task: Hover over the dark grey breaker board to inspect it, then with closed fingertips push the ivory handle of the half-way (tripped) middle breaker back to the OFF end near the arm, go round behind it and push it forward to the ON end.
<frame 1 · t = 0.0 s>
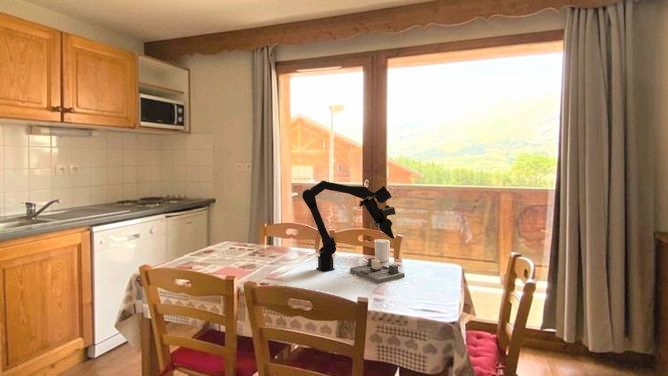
hand: (391, 236, 190), 15 cm above the table, tool tilted 35°, fingers open, 9 cm apart
tripped breaker: (375, 265, 180), point 4 cm above the table, slide at 4.0 cm
white cup: (382, 260, 206), on the table
breaker panel: (376, 274, 180), on the table
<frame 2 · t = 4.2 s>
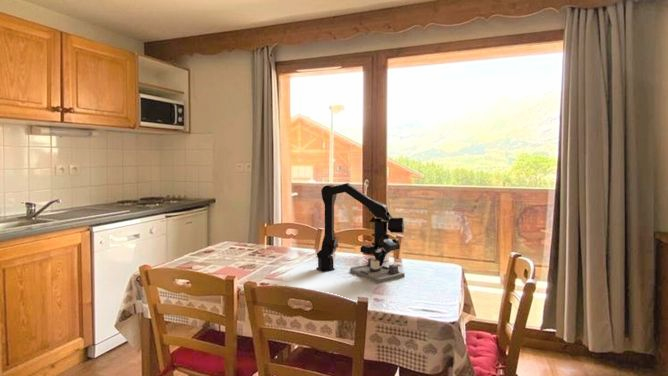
hand: (380, 266, 181), 3 cm above the table, tool pointing down, fingers closed
tripped breaker: (375, 265, 180), point 4 cm above the table, slide at 3.5 cm, touching gripper
everything else where it was.
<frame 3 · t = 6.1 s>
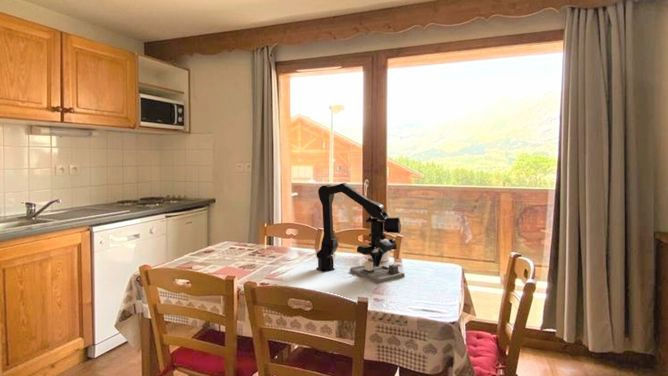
hand: (377, 266, 180), 4 cm above the table, tool pointing down, fingers closed
tripped breaker: (368, 266, 178), point 4 cm above the table, slide at 0.0 cm
everything else where it was.
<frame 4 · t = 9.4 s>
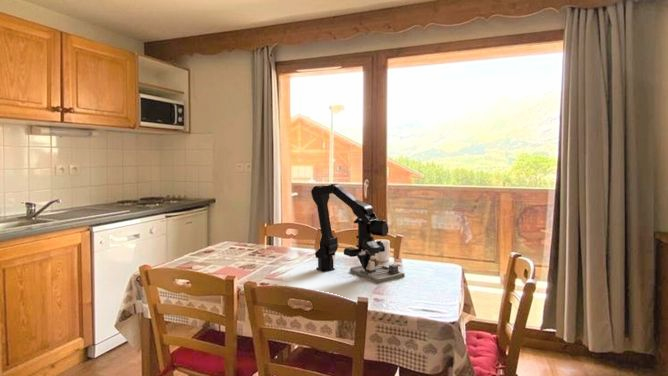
hand: (364, 269, 176), 4 cm above the table, tool pointing down, fingers closed
tripped breaker: (370, 266, 178), point 4 cm above the table, slide at 0.8 cm, touching gripper
everything else where it was.
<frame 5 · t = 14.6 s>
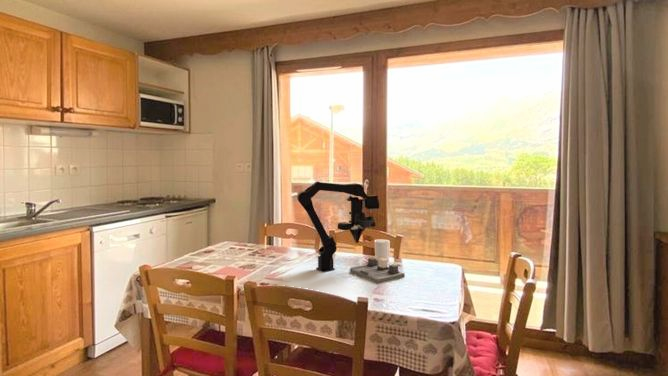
hand: (357, 242, 191), 12 cm above the table, tool pointing down, fingers closed
tripped breaker: (382, 264, 182), point 4 cm above the table, slide at 8.0 cm
everything else where it was.
at the end: tripped breaker slide at 8.0 cm; tripped breaker 0.0 cm from the target spot, resting on breaker panel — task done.
